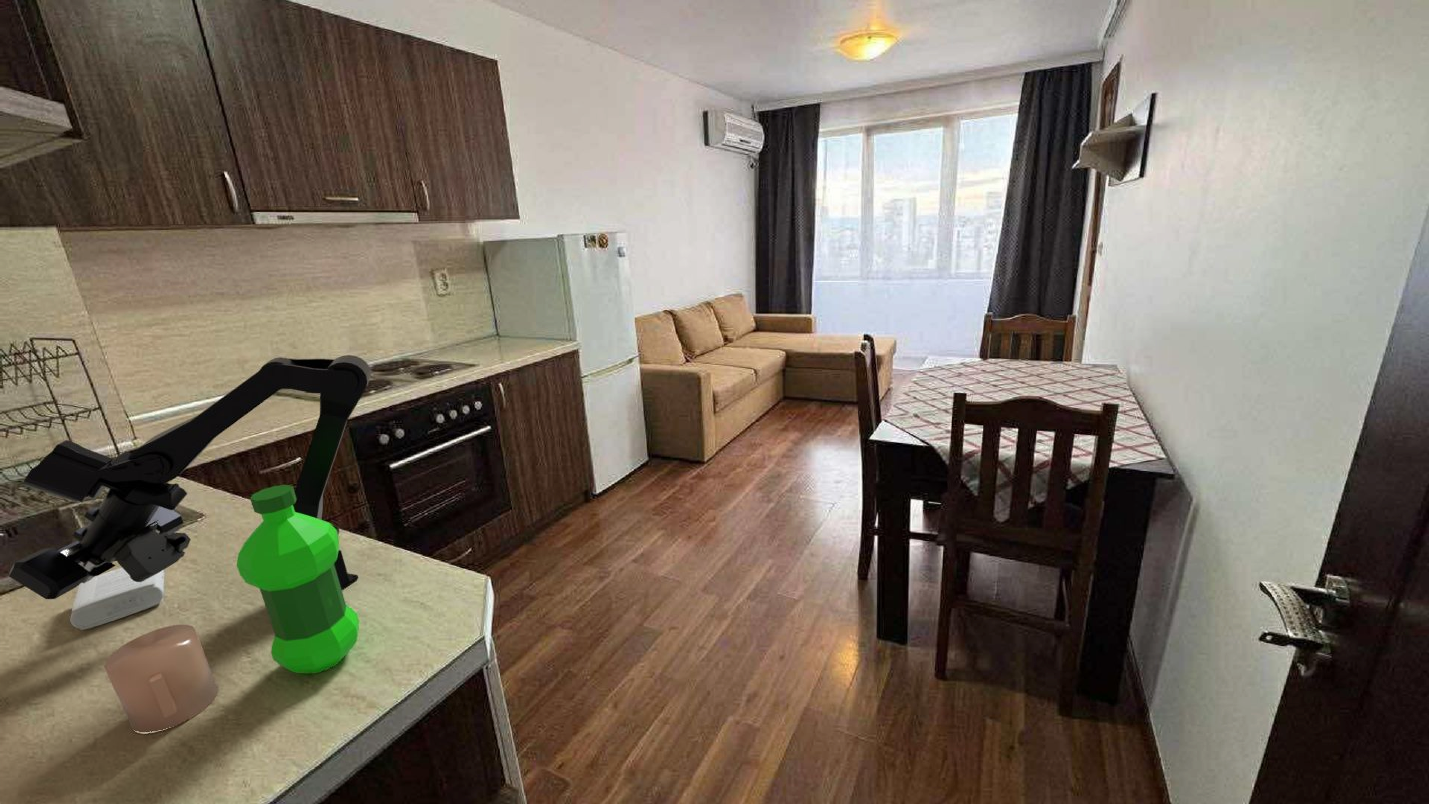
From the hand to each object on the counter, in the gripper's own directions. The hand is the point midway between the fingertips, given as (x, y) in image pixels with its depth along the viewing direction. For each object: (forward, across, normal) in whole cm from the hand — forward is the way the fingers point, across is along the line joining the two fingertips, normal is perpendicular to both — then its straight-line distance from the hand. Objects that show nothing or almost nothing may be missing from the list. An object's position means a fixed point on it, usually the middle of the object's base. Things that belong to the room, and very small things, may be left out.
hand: (83, 580), depth 85 cm
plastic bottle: (-23, -8, -34) cm, 42 cm away
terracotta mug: (-13, -16, -25) cm, 32 cm away
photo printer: (+3, +1, -6) cm, 6 cm away
